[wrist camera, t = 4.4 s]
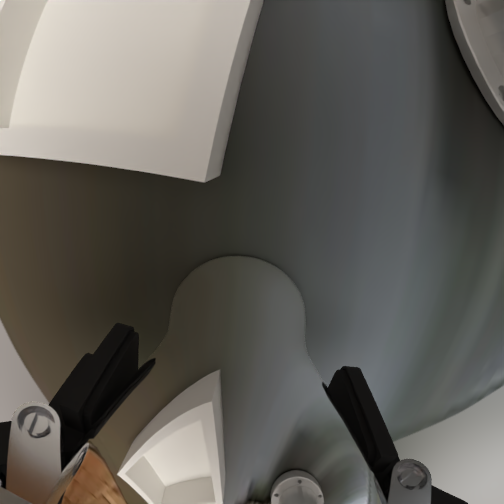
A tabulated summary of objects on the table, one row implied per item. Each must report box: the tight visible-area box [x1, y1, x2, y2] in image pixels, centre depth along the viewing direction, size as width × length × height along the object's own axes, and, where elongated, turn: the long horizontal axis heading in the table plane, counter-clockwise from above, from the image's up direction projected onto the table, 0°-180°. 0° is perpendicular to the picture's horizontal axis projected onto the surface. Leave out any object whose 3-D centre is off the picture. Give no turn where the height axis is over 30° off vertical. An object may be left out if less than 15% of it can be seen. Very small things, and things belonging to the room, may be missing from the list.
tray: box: [0, 0, 264, 183], centre depth 8 cm, size 12×12×4 cm
